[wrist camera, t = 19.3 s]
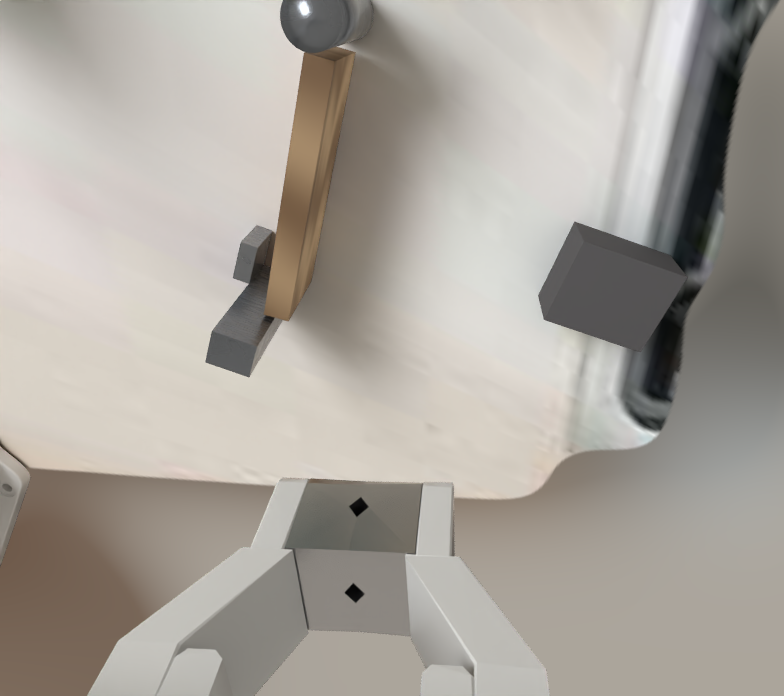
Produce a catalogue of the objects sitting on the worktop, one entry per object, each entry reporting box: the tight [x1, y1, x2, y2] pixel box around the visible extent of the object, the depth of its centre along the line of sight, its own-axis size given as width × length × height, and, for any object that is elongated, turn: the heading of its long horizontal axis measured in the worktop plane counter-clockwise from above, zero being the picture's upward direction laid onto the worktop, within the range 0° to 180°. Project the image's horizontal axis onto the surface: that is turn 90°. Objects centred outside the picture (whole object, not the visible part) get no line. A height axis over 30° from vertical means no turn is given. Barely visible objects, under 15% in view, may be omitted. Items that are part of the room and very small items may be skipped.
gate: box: [264, 47, 356, 321], centre depth 32 cm, size 13×1×6 cm, turn 166°
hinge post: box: [280, 0, 374, 53], centre depth 27 cm, size 2×2×9 cm
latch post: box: [206, 226, 282, 377], centre depth 35 cm, size 4×3×9 cm
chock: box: [538, 222, 688, 352], centre depth 35 cm, size 5×6×4 cm
